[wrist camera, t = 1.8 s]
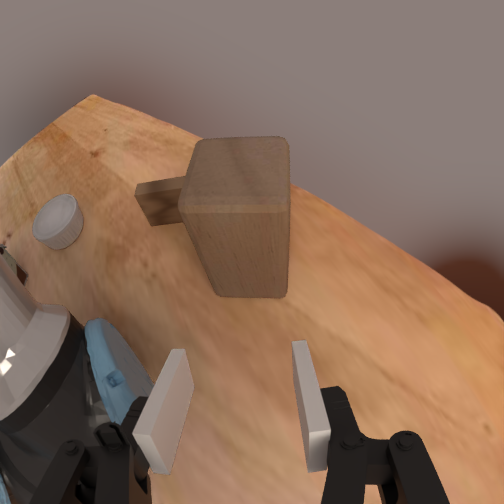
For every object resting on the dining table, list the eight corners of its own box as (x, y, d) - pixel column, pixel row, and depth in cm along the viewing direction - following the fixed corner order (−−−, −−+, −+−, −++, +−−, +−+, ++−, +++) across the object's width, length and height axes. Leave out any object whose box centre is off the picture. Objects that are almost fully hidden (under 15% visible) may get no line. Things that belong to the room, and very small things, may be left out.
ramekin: (96, 227, 52) (83, 209, 47) (55, 265, 48) (40, 250, 43) (77, 201, 56) (65, 185, 52) (40, 235, 52) (27, 220, 48)
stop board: (151, 226, 50) (134, 195, 43) (153, 214, 51) (137, 184, 45) (279, 211, 49) (279, 176, 42) (278, 200, 50) (276, 165, 44)
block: (215, 298, 42) (172, 206, 25) (223, 239, 47) (194, 136, 30) (286, 301, 41) (290, 205, 24) (287, 240, 46) (288, 132, 29)
